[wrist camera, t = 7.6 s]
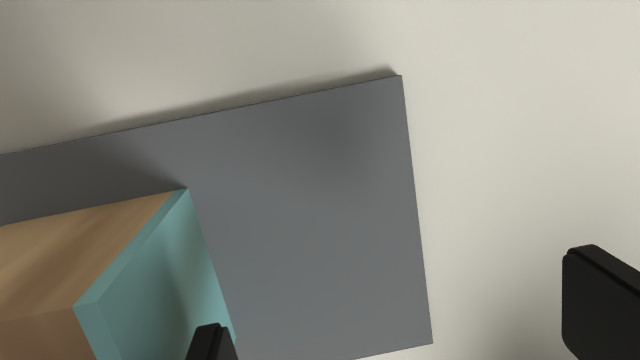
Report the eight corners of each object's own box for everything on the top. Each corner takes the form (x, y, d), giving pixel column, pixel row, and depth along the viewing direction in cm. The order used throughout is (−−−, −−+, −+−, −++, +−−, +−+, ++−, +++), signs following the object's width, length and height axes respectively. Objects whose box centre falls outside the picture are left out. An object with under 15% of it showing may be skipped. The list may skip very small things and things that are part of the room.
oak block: (187, 187, 14) (4, 225, 14) (96, 302, 8) (-251, 373, 8) (236, 337, 16) (77, 369, 16) (197, 527, 10) (-70, 582, 10)
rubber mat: (-278, 210, 14) (-294, 215, 13) (398, 75, 14) (401, 75, 14) (-101, 446, 17) (-109, 455, 17) (430, 337, 18) (433, 343, 17)
